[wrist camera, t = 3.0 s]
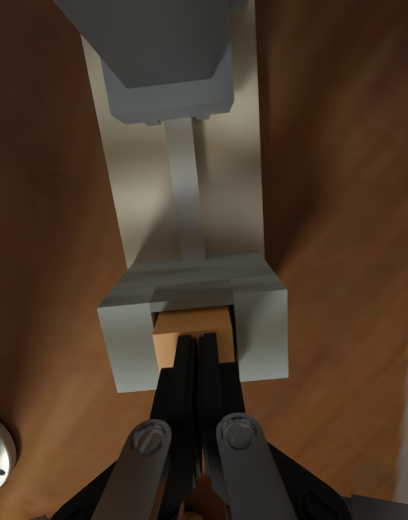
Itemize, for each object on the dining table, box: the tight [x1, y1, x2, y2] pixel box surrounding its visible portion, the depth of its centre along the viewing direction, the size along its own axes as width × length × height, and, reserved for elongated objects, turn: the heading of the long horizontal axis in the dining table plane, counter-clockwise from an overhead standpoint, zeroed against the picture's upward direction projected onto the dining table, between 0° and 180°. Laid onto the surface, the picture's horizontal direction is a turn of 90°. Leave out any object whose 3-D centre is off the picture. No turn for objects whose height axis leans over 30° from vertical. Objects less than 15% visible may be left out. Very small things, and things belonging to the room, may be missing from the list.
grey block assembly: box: [81, 0, 288, 393], centre depth 15 cm, size 23×10×8 cm, turn 6°
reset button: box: [152, 305, 235, 374], centre depth 13 cm, size 3×3×2 cm
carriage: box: [53, 0, 234, 126], centre depth 10 cm, size 5×6×12 cm
